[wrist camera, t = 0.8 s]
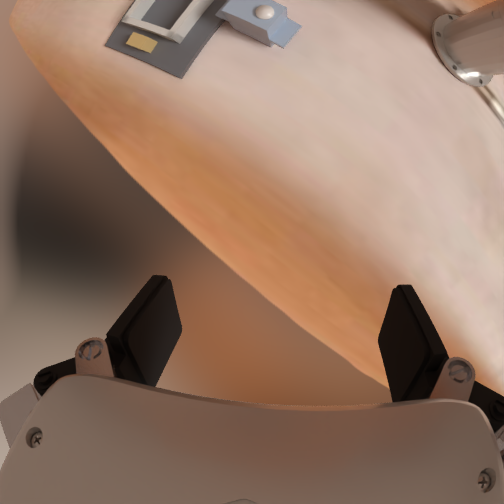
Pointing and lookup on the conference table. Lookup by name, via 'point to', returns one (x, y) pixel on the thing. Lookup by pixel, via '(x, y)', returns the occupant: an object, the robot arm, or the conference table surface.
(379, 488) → the robot arm
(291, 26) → the block
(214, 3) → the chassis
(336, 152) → the conference table surface
